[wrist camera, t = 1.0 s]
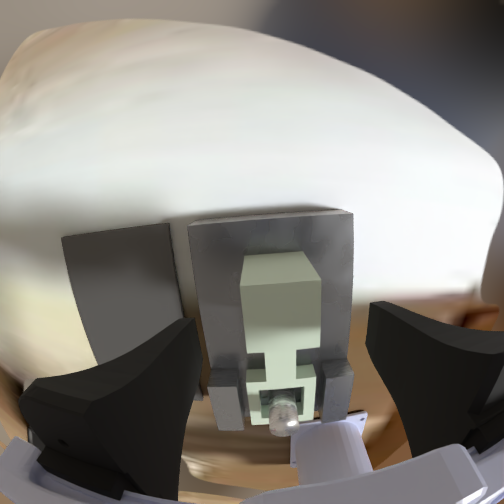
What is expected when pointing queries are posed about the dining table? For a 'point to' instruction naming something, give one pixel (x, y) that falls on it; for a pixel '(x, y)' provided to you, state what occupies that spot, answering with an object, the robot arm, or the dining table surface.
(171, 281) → the black mat
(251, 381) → the sage hook
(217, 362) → the vise
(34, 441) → the phone
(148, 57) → the dining table surface
